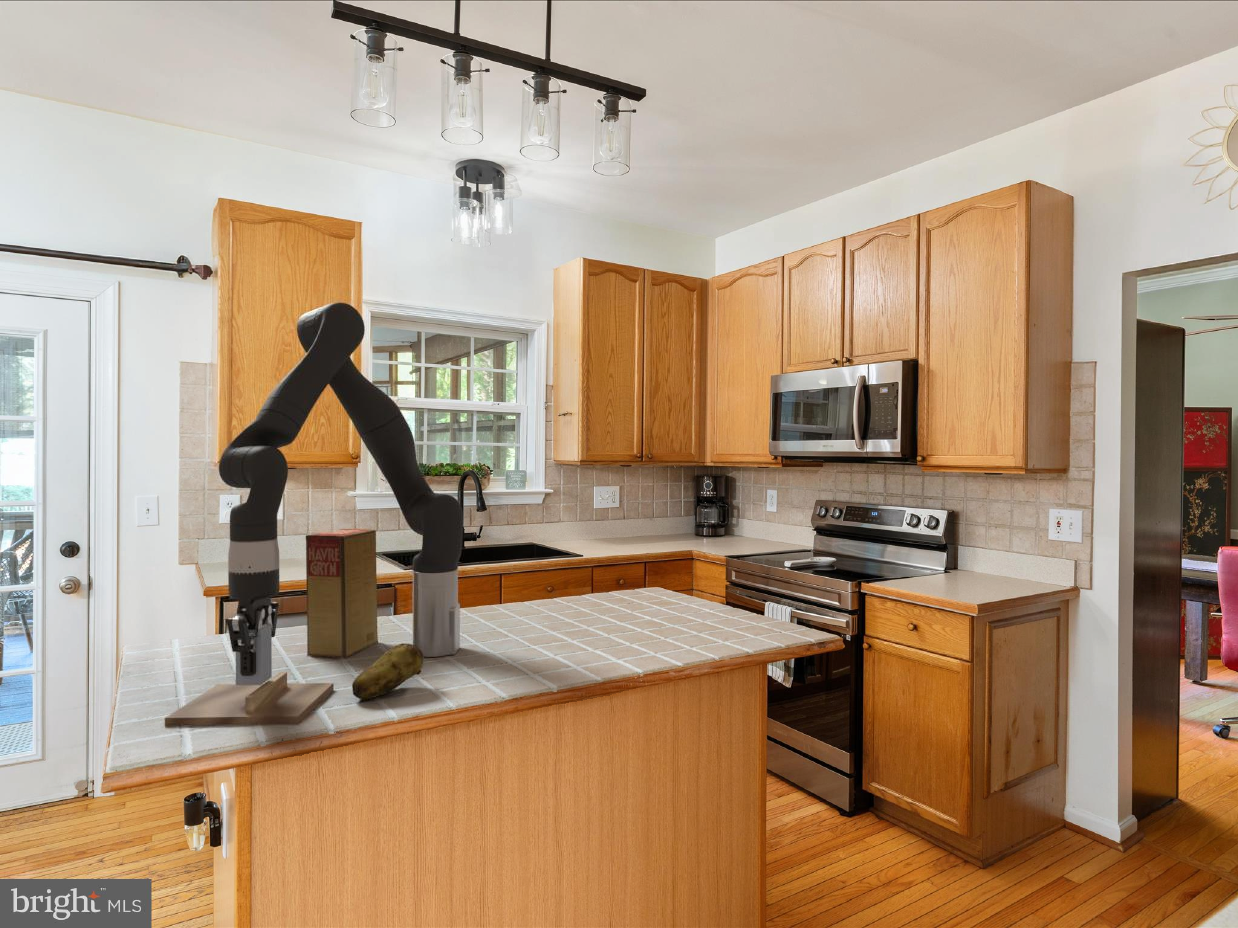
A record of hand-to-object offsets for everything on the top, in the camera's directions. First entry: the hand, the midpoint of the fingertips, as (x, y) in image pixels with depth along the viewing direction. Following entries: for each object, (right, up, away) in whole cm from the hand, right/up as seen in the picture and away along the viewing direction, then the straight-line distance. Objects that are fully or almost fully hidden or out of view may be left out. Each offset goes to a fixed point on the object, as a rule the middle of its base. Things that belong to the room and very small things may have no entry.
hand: (254, 670), depth 120 cm
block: (0, -2, 0) cm, 2 cm away
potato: (+20, -6, +7) cm, 22 cm away
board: (0, -6, 0) cm, 6 cm away
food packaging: (+1, -6, +35) cm, 36 cm away
